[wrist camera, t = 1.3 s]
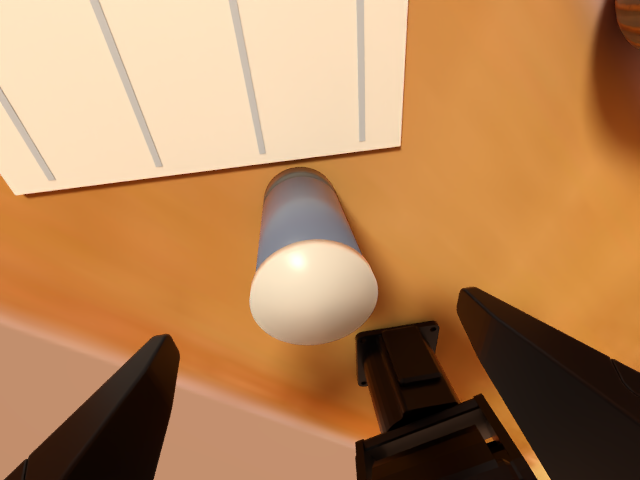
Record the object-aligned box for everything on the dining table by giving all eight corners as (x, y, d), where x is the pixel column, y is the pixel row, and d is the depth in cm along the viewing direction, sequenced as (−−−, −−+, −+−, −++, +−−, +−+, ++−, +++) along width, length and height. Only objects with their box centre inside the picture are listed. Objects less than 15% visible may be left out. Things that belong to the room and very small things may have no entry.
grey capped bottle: (339, 229, 18) (377, 334, 11) (269, 239, 17) (263, 353, 11) (334, 160, 15) (379, 238, 9) (254, 170, 15) (235, 259, 8)
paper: (398, 144, 15) (400, 146, 15) (19, 192, 14) (14, 195, 14) (420, -315, 8) (425, -329, 8) (-307, -284, 7) (-331, -298, 7)
